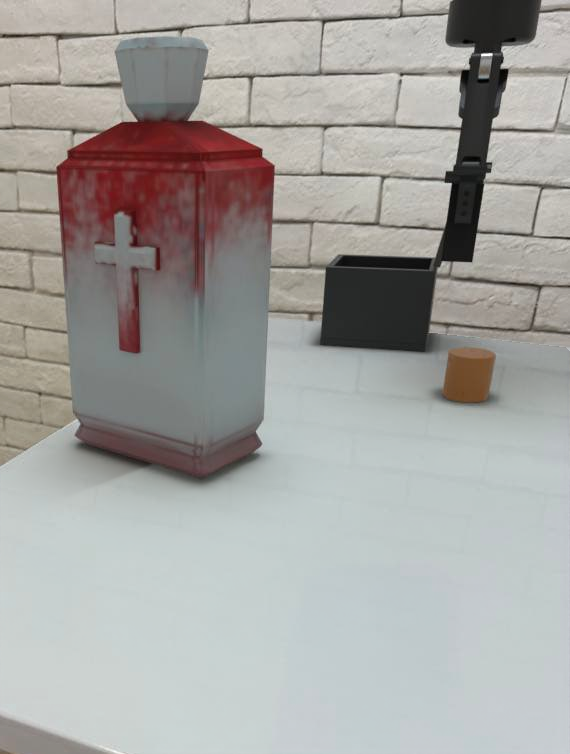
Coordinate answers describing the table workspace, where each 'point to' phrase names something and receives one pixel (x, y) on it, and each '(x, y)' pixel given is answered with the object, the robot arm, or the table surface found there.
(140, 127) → the bottle
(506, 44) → the robot arm
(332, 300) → the black storage bin
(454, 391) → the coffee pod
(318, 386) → the table surface
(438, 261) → the lid
